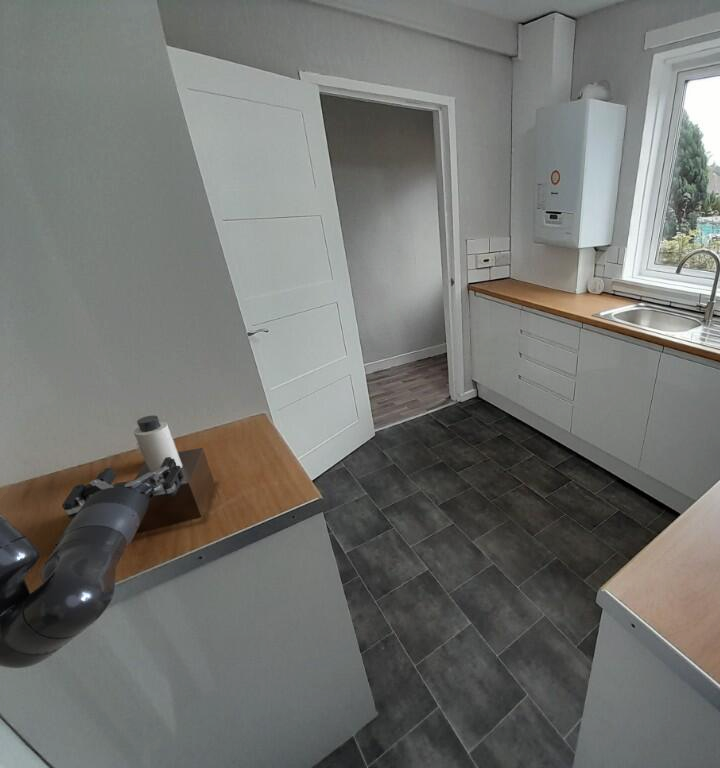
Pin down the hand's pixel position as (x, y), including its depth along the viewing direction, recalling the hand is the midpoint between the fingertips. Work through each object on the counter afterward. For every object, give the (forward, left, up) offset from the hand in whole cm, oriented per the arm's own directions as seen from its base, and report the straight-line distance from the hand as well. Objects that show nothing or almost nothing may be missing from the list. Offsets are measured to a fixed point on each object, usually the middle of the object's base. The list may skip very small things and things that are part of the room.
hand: (141, 466), depth 74 cm
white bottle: (0, +9, -7) cm, 11 cm away
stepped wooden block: (-6, +9, -17) cm, 20 cm away
